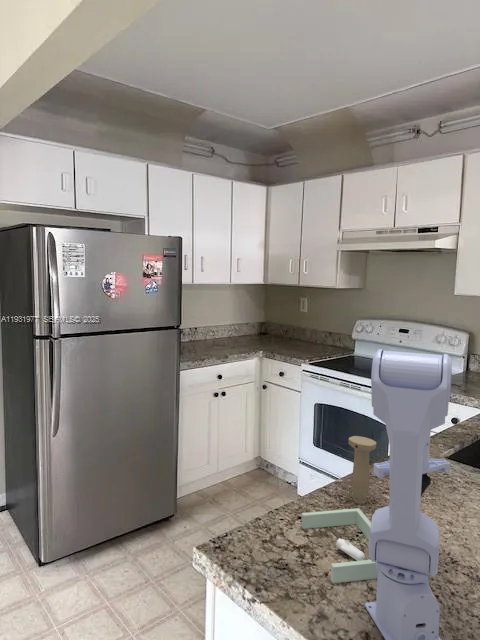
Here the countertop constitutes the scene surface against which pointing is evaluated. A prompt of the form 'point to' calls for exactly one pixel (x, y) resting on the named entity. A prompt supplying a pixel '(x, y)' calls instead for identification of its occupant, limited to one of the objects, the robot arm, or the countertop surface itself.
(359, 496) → the handle
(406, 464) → the robot arm
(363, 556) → the small white plastic part
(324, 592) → the countertop surface
